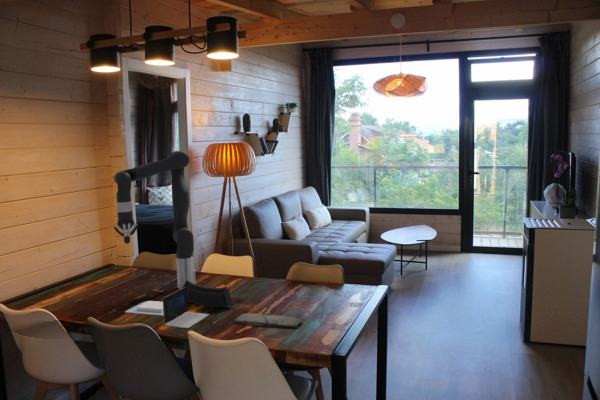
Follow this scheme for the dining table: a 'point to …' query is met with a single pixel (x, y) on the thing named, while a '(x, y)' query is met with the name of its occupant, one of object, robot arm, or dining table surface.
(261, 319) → the stone slab
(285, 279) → the dining table surface
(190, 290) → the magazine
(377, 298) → the dining table surface
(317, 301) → the dining table surface
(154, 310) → the tile
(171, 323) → the laptop
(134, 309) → the mat
